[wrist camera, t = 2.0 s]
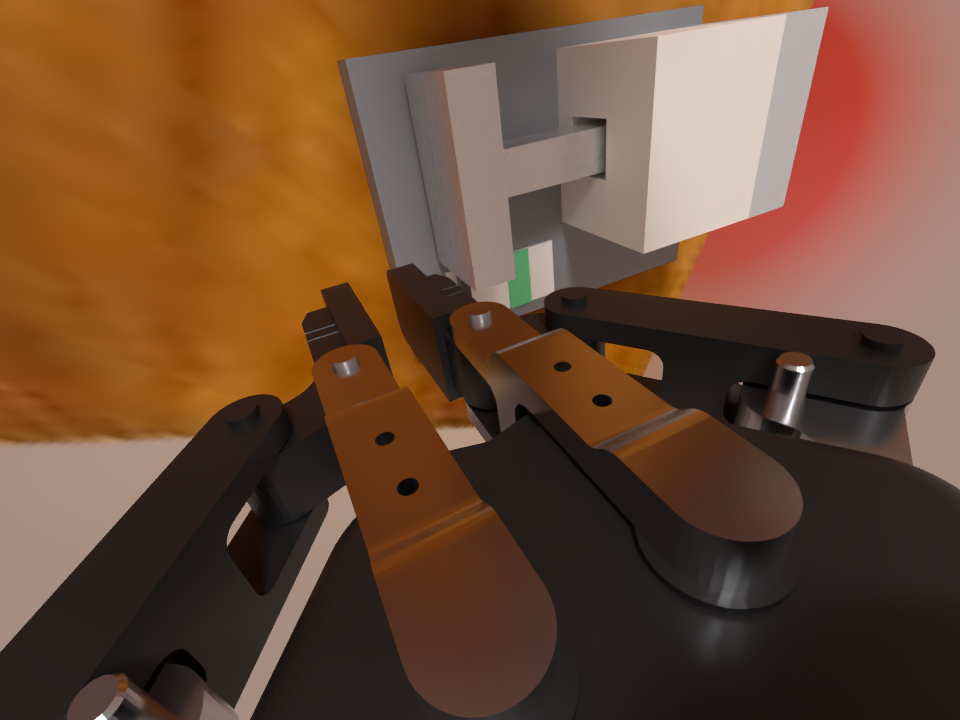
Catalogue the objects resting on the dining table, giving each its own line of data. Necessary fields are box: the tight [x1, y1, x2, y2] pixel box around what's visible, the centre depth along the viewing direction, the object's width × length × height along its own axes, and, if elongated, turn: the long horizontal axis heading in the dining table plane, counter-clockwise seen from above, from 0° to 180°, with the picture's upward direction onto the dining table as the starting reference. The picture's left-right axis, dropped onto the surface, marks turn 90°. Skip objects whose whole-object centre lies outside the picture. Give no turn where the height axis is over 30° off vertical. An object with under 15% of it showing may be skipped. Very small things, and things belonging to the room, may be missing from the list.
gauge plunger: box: [404, 62, 607, 297], centre depth 27 cm, size 16×11×6 cm
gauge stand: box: [337, 5, 828, 316], centre depth 28 cm, size 17×23×10 cm
